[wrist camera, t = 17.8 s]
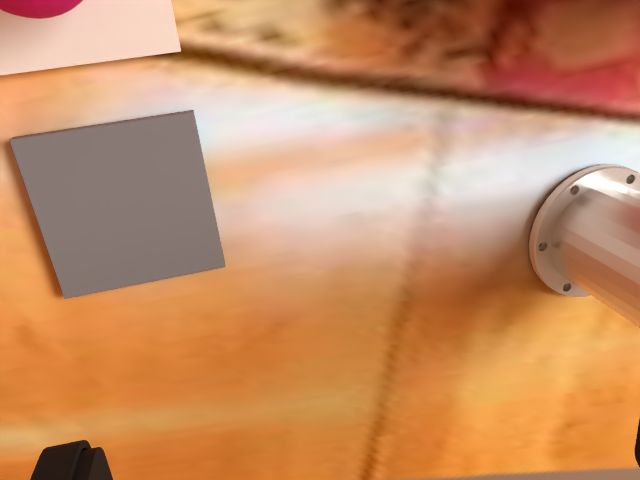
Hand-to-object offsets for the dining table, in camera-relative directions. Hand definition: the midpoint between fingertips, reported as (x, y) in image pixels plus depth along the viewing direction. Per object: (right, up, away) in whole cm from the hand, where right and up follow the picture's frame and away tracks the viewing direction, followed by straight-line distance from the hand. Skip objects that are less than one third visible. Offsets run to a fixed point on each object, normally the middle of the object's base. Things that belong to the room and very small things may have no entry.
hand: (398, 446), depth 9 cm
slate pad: (-15, +6, +31) cm, 35 cm away
